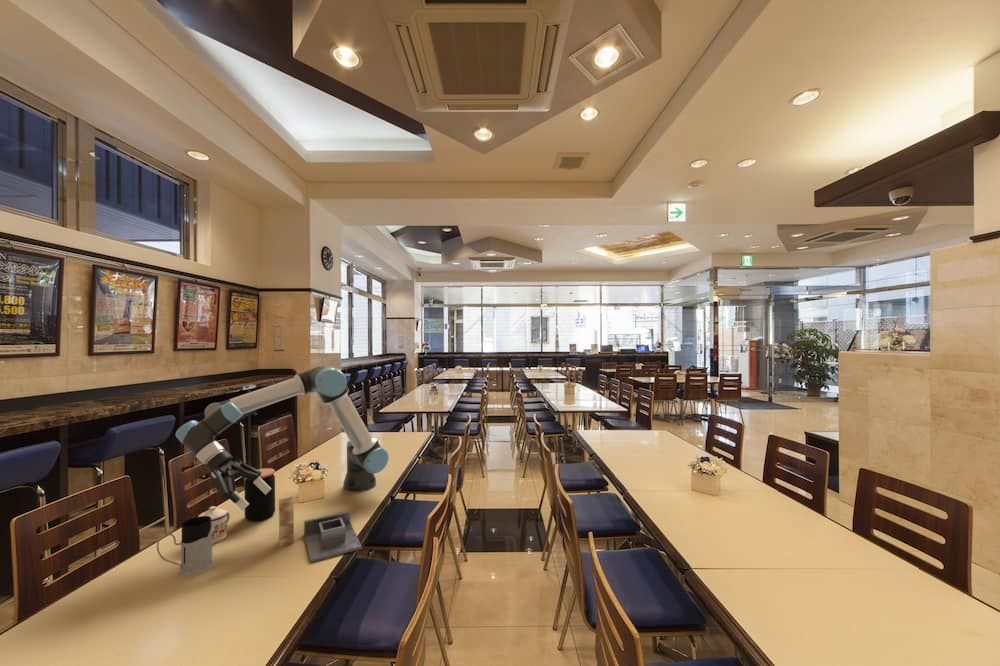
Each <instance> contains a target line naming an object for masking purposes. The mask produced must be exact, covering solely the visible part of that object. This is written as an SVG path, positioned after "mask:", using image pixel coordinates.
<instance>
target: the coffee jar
mask: <svg viewBox="0 0 1000 666" xmlns="http://www.w3.org/2000/svg"><path fill="white" fill-rule="evenodd" d="M256 469H257V468H256ZM257 470H259V471H261V475H260V477H261V478H262V479H263V480H264V481H265V483H266V484H267V485H268V486H269V487H270V488H271V490H270V491H269V492H268V493H267V494H266V495H265V494H264V493H263V492H262V491H261V490H260V489H259V488H258V487H257V486H256V485H255V484H254V483H253V482H254V481H253V480H250V479H247V478H245V480H244V499H245V500H246V501H247V502H248V503H249V505H248V506H247V507H246V508H245V509H244V518H245V519H246V521H247V522H251V523H256V522H262V521H265V520H269V519H270V518H272V517H273V516H274V514H275V513H276V475H274V474H275V473H276V471H275V469H274V468H271V467H270V468H269V467H268V468H258V469H257Z"/></svg>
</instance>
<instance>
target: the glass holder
mask: <svg viewBox="0 0 1000 666" xmlns="http://www.w3.org/2000/svg"><path fill="white" fill-rule="evenodd" d="M167 536H171V537H172V538H173V543H174V545H175V546H179V545H180V562H181V563H178V562H175V561H171V560H170V559H167V558H165V557H164V556H163V555H162V554H161V552H160V549H159V546H160V545H159V544H160V541H161V540H162V539H163V538H164V537H167ZM212 547H213V544H212V524H211V517H209V516H200V517H198V516H195V517H192V518H189V519H187V520H185V521H183V522H182V523H181V540H180V542H179V543H177V540H176V537H175V535H174V534H172V533H165V534H164V535H162V536H161V537H159V538H158V539H157V542H156V550H157V551H156V552H157V553H158V556H159V557H160V558H161V560H163V561H165V562H166V563H171V564H174V565H177V566H179V569H180V571H179V576H181V577H184V578H185V577H186V578H187V577H193V576H197V575H201V574H203V573H206V572H207V571H209V570H210V569H212V568H213V566H214V565H215V564H214V560H213V548H212Z"/></svg>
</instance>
